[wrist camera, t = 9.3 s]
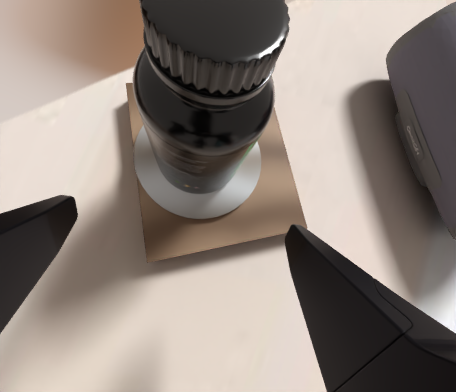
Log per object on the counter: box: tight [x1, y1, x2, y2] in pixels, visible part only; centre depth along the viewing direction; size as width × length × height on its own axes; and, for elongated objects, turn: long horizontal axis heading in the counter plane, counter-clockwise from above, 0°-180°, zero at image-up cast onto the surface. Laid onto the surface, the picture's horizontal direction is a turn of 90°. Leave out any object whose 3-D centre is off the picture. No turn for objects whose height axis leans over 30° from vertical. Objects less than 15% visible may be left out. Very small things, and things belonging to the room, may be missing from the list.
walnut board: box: [126, 83, 307, 263], centre depth 20 cm, size 16×14×3 cm
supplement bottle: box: [133, 0, 290, 194], centre depth 12 cm, size 7×7×12 cm
